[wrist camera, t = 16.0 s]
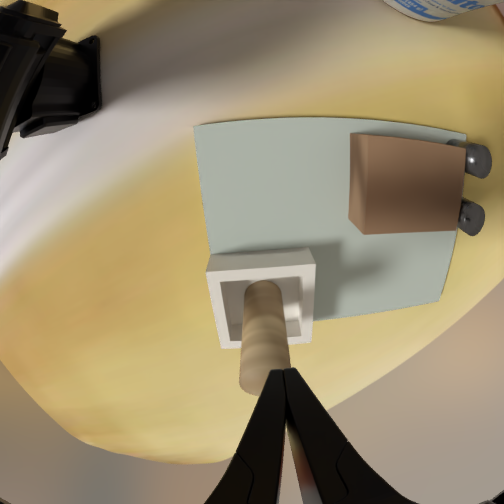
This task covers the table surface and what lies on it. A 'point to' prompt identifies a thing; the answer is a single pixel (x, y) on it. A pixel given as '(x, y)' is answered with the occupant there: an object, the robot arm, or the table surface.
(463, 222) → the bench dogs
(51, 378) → the table surface
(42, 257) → the table surface
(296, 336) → the tray
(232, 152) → the mat
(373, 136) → the cardboard brown brick
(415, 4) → the supplement tub
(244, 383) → the dowel
